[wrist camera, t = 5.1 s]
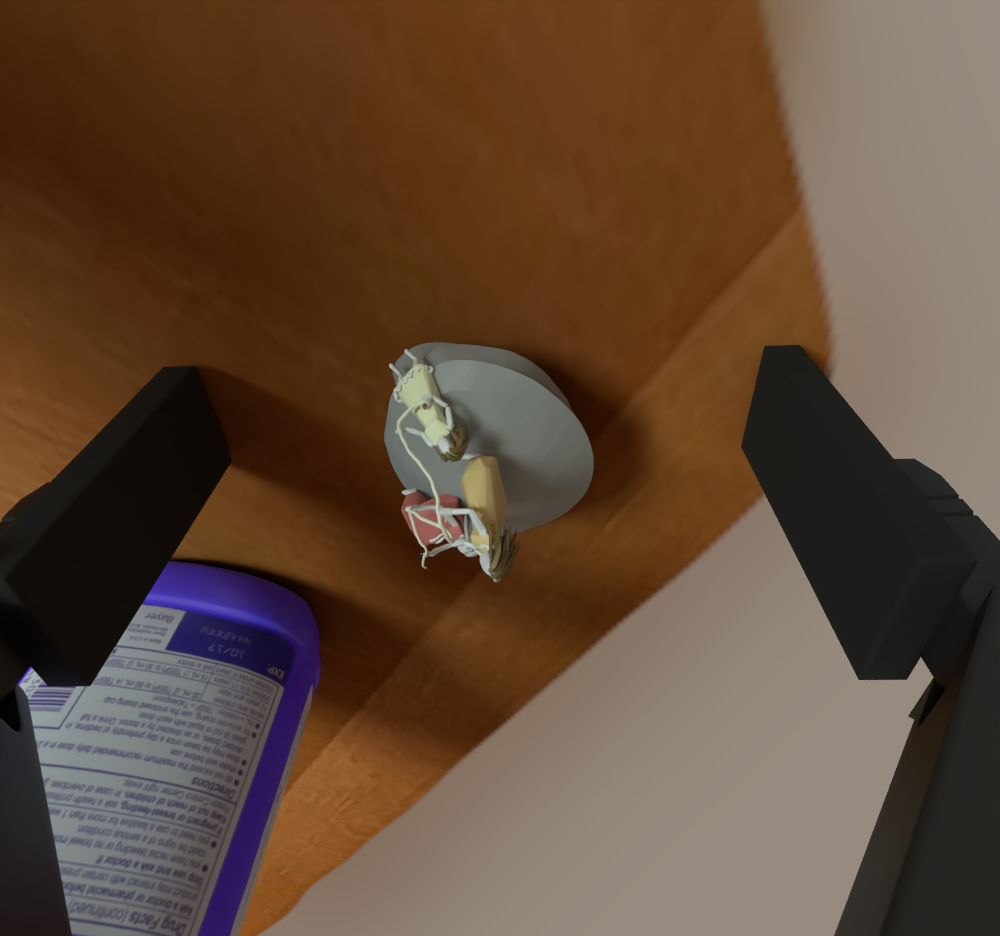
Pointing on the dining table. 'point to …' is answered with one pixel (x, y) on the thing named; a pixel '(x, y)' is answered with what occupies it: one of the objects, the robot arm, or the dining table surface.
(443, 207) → the dining table surface
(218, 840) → the bottle
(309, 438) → the dining table surface
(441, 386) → the figurine
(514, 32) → the dining table surface
